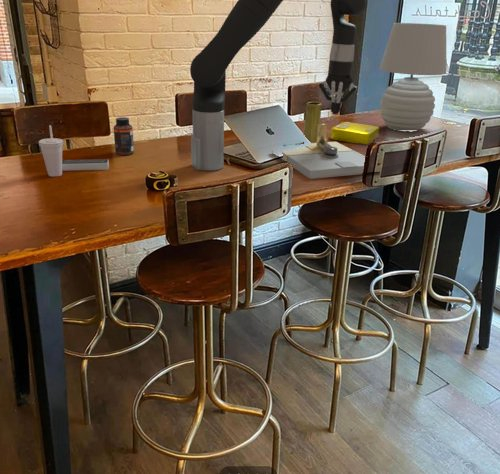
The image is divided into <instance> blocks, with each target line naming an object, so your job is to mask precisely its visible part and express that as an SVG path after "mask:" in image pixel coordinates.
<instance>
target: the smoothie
mask: <svg viewBox="0 0 500 474" xmlns="http://www.w3.org/2000/svg"><path fill="white" fill-rule="evenodd" d="M48 126H49V128H48V129H49V135H50V136H49V138H42V139H40V140H39V141H38V146H39V147H40V149H41V150H40V151H41V153H42V157H43V160H44V164H45V168H46V172H47V175H48V177H59V176H62V175H63V171H62V160H63V145H64V140H63V139H61V138H56V137H55V138H54V137H53V136H54V135H53V129H52V128H53V127H52V125H50V124H49V125H48Z"/></svg>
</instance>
